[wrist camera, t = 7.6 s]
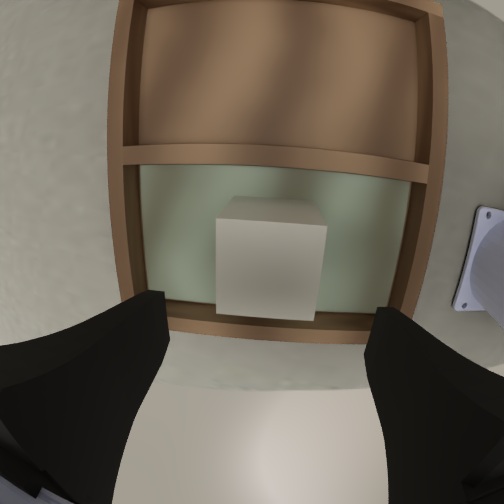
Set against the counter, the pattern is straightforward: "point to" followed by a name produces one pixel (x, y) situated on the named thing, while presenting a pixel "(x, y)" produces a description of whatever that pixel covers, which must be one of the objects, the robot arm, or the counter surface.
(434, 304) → the counter surface
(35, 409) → the robot arm
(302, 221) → the stone block
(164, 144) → the sorting tray
